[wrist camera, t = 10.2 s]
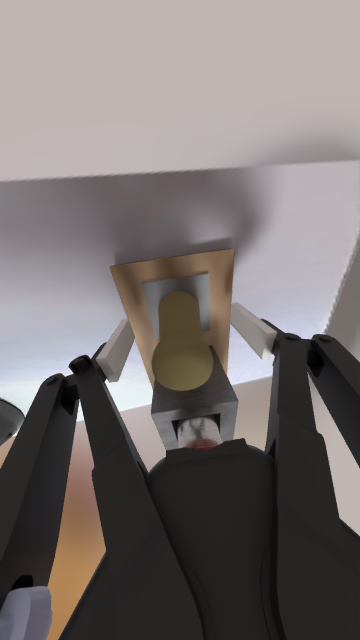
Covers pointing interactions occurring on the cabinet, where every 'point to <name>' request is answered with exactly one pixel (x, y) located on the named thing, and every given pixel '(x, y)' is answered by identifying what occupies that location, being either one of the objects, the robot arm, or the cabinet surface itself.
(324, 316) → the cabinet surface
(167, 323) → the olive knobbed peg
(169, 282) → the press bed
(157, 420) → the grey push button box
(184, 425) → the press plunger
